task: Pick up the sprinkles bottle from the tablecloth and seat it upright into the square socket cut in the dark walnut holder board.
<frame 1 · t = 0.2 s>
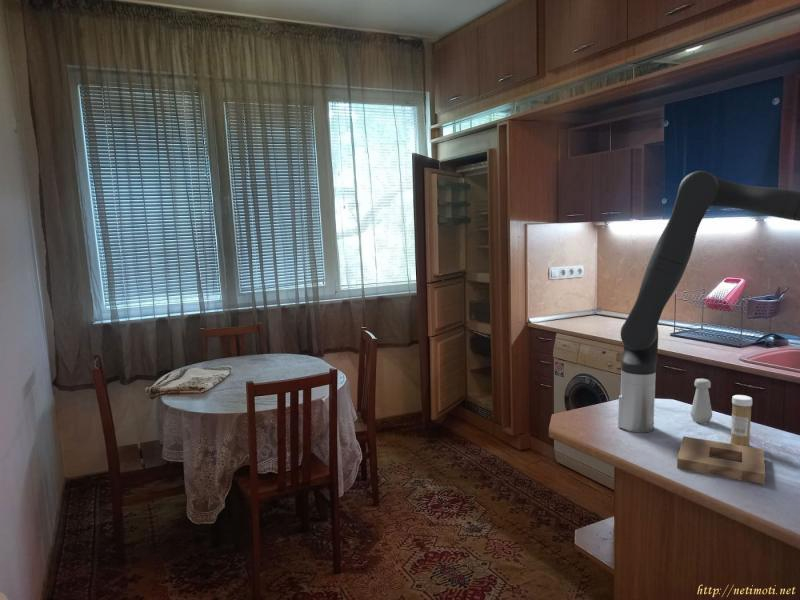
sprinkles bottle: (739, 445, 147), on the table
holder board: (720, 463, 136), on the table
salt shaker: (700, 421, 165), on the table
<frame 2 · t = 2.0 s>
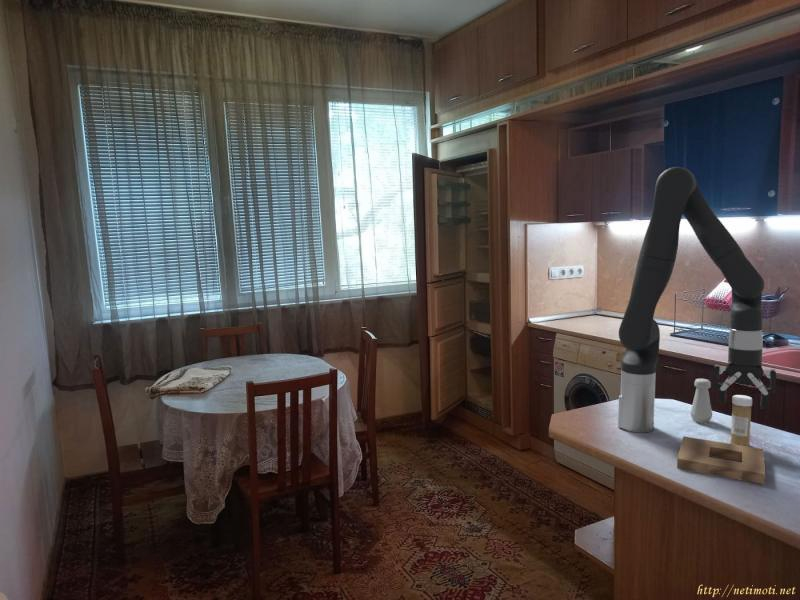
hand: (743, 405, 145), 11 cm above the table, tool pointing down, fingers open, 8 cm apart
nothing on the table moved.
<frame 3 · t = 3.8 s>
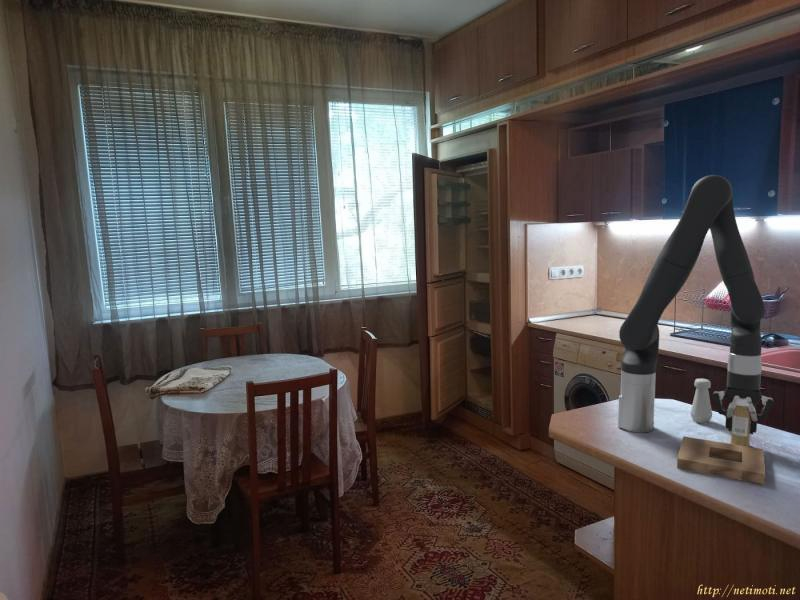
hand: (740, 431, 146), 4 cm above the table, tool pointing down, fingers closed on sprinkles bottle, 4 cm apart
sprinkles bottle: (739, 445, 147), on the table, touching gripper
everything else where it was.
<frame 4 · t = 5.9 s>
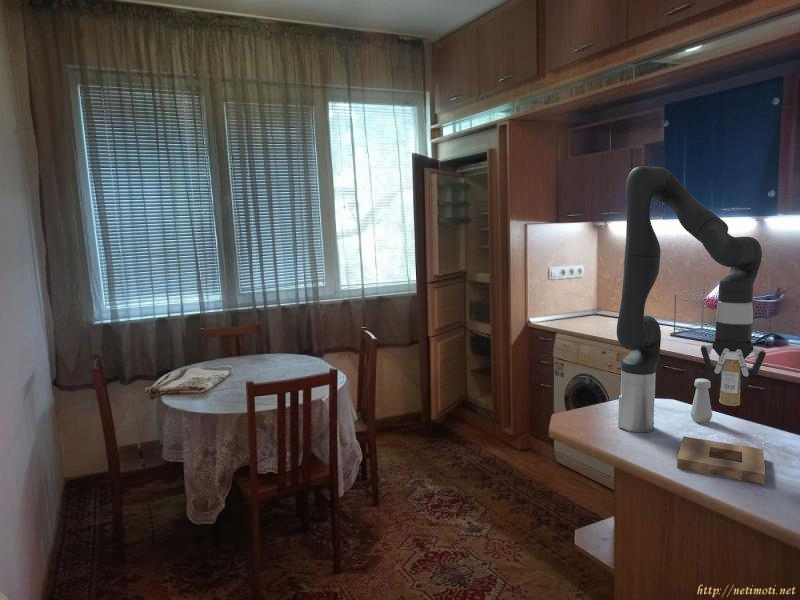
hand: (730, 388, 133), 19 cm above the table, tool pointing down, fingers closed on sprinkles bottle, 4 cm apart
sprinkles bottle: (729, 404, 134), point 15 cm above the table, touching gripper
everything else where it was.
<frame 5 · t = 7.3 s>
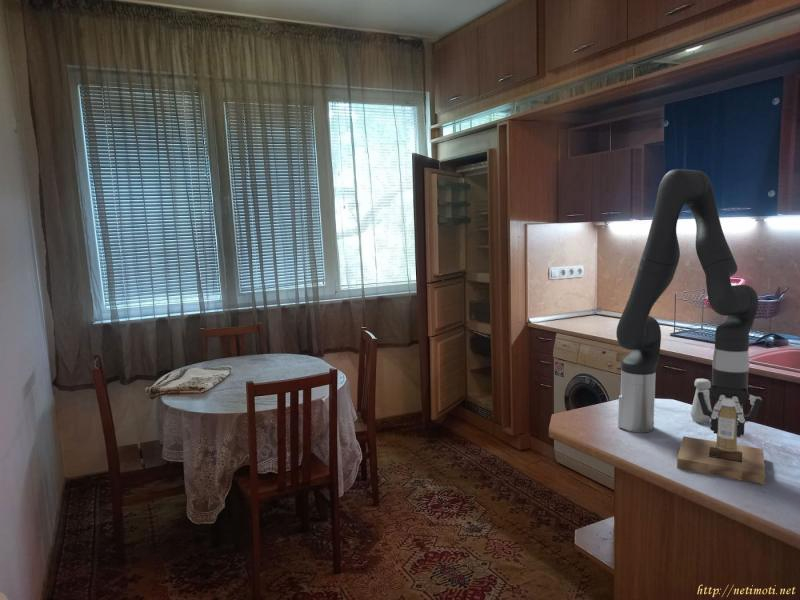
hand: (727, 433, 135), 8 cm above the table, tool pointing down, fingers closed on sprinkles bottle, 4 cm apart
sprinkles bottle: (726, 449, 135), point 4 cm above the table, touching gripper
everything else where it was.
when the fingers open (5 cm above the table, at t = 8.5 s): sprinkles bottle stays where it is, resting in holder board.
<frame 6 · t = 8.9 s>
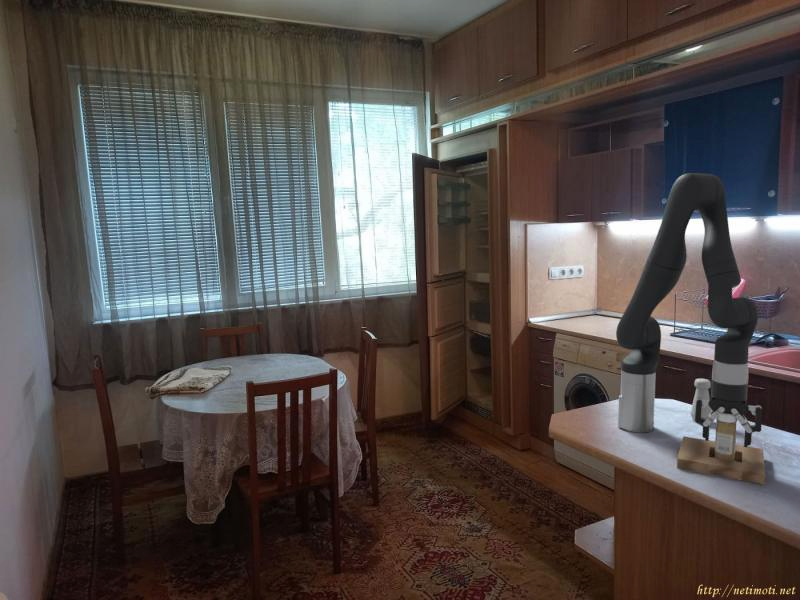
hand: (726, 442, 135), 6 cm above the table, tool pointing down, fingers open, 8 cm apart
sprinkles bottle: (724, 464, 136), resting in holder board
everything else where it was.
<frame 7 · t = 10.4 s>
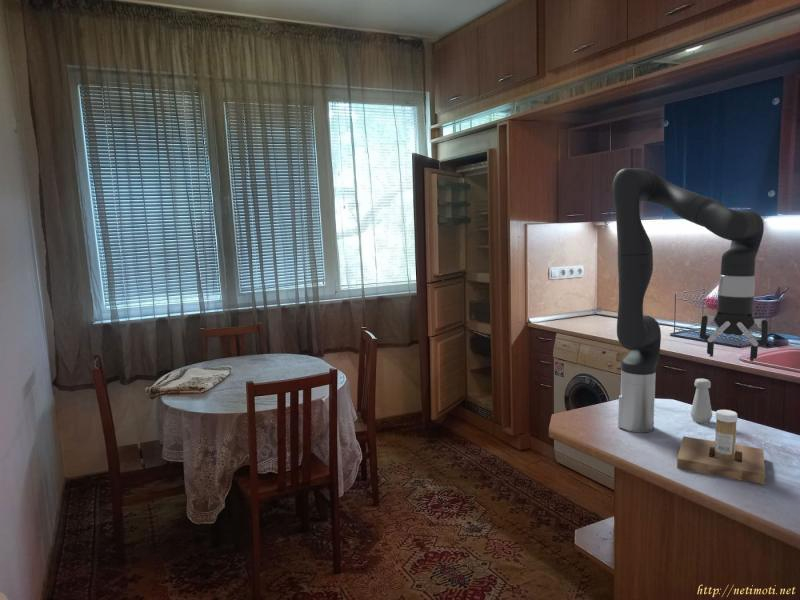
hand: (731, 358, 135), 26 cm above the table, tool pointing down, fingers open, 8 cm apart
nothing on the table moved.
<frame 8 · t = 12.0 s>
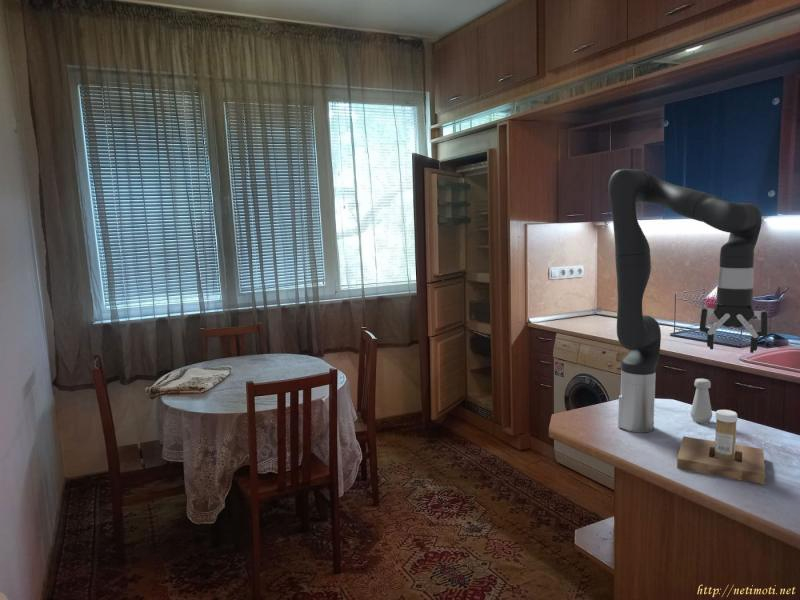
hand: (731, 350, 135), 28 cm above the table, tool pointing down, fingers open, 8 cm apart
nothing on the table moved.
at the end: sprinkles bottle 0.2 cm from the target spot on the holder board, point 0.0 cm above the holder board's base; sprinkles bottle tilted 0°; the gripper is holding nothing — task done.
